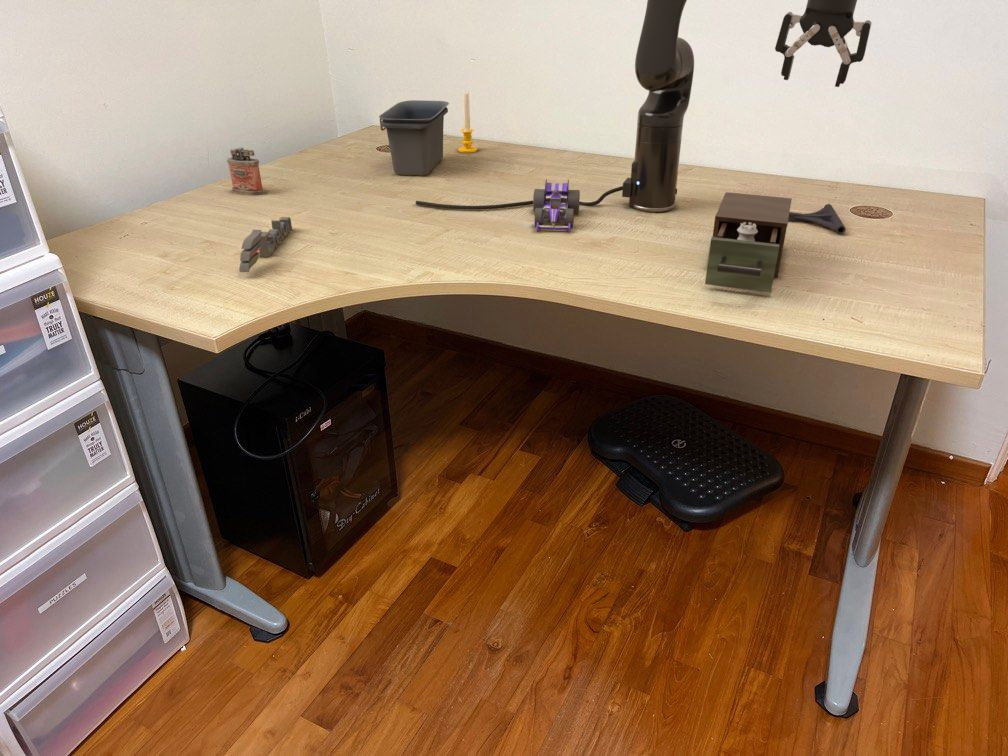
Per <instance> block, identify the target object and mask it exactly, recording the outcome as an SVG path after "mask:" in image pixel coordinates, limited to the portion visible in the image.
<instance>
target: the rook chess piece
mask: <svg viewBox="0 0 1008 756" xmlns="http://www.w3.org/2000/svg"><path fill="white" fill-rule="evenodd" d="M751 224H752V223H748V225H746V222H744V223H743V224H742V223H741V224H740V227H739V228H738V229H737V231H738V233H739V237H738V238H737V239H738V240H744V241H753V242H754V241H755V239H754V235H755V234H756V233H757V232H758V231H757V229H756V224H753V226H751Z"/></svg>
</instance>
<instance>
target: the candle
mask: <svg viewBox="0 0 1008 756" xmlns="http://www.w3.org/2000/svg"><path fill="white" fill-rule="evenodd" d="M462 97H463V98H462V107H463V128H462V129H460V130H459V132H461V133H462V134H463V136H462V138H463V140H461V144H462V145H463V146H461V147H458V153H461V154H472V153H476V152H478V148H477V147H476V146H472V145H473V144H474V140H472V138H473V137H472V133H474V132H475V129H473V128H471V116H470V115H471V114H470V112H471V111H470V93H469V92H467V91H465V92H464V93H463V94H462Z"/></svg>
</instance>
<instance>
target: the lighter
mask: <svg viewBox="0 0 1008 756" xmlns="http://www.w3.org/2000/svg"><path fill="white" fill-rule="evenodd" d="M229 153H230V155H231V157H228V158H226V162H227V164H228V169H229V175H230V179H231V185H232V192H233V193H235V194H240V195H247V196H261V195H264V193H265V190H264V188H263V183H262V182H263V181H262V176H261V172H260V166H259V164H260V160H259V159H257V158H252V157H254V156H255V151H254V150H253V149H252V148H251V149H249V148H244V147H241V146H240V147H237V148H230V149H229Z"/></svg>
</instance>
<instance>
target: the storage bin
mask: <svg viewBox="0 0 1008 756" xmlns="http://www.w3.org/2000/svg"><path fill="white" fill-rule="evenodd" d="M449 105H450V103H449V102H448V101H443V100H421V99H420V100H417V99H416V100H415V99H413V100H412V99H411V100H404V101H403V100H402V101H399V102H397V103H396V104H394V105H392V106H391V107H390V108H387V110H385V111H384V112H383V113H380V115H378V118H379V126H380V131H382V132H383V131H385V130H386V135H387V140H388V145H389V151H390V156H391V162H392V168H393V172H394V174H396V175H398V176H423V177H424V176H428V175H429V173H430V172H431V171H432V170H433V169H434V168H436V166H437V165H438V163H440V162H441V161H442V159H443V158H444V121H445V115H446V114H447V113H449V109H448V106H449Z"/></svg>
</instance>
